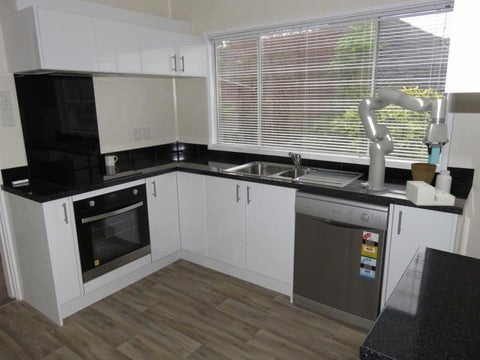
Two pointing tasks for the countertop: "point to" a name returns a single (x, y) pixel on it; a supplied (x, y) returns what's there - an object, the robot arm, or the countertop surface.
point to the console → (427, 194)
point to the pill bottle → (443, 181)
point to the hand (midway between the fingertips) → (434, 154)
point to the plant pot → (423, 172)
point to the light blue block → (434, 154)
